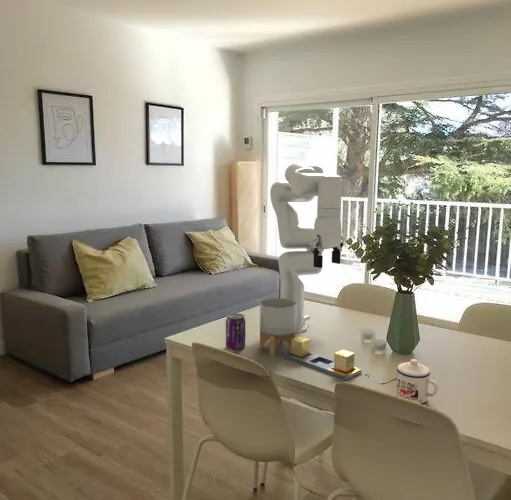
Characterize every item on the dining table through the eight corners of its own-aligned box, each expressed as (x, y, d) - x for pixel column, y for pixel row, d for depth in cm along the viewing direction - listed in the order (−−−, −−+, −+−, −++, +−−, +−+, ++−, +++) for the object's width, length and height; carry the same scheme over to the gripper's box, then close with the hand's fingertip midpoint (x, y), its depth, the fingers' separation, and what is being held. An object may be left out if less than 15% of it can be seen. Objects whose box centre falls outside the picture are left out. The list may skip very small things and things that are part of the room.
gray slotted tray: (298, 352, 181) (298, 347, 181) (361, 374, 163) (361, 369, 163) (283, 358, 176) (283, 353, 175) (346, 381, 158) (347, 376, 157)
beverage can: (242, 352, 181) (243, 319, 179) (223, 350, 183) (223, 318, 181) (247, 345, 188) (247, 313, 186) (228, 343, 189) (228, 312, 187)
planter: (289, 359, 175) (291, 309, 172) (254, 354, 179) (254, 305, 176) (299, 346, 187) (300, 299, 184) (266, 342, 191) (266, 296, 188)
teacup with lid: (389, 398, 147) (391, 360, 145) (404, 388, 153) (406, 351, 151) (429, 412, 139) (432, 372, 137) (443, 401, 145) (446, 362, 143)
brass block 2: (342, 368, 166) (342, 349, 165) (353, 372, 163) (354, 353, 162) (333, 372, 163) (334, 353, 162) (345, 376, 160) (346, 356, 159)
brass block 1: (299, 353, 179) (299, 336, 178) (309, 357, 176) (310, 339, 175) (291, 357, 176) (291, 339, 175) (301, 360, 173) (301, 342, 171)
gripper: (335, 210, 174) (333, 260, 177) (302, 214, 161) (301, 267, 164) (353, 212, 168) (351, 263, 171) (321, 216, 156) (319, 270, 159)
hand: (327, 265), depth 168 cm, fingers open, 9 cm apart
